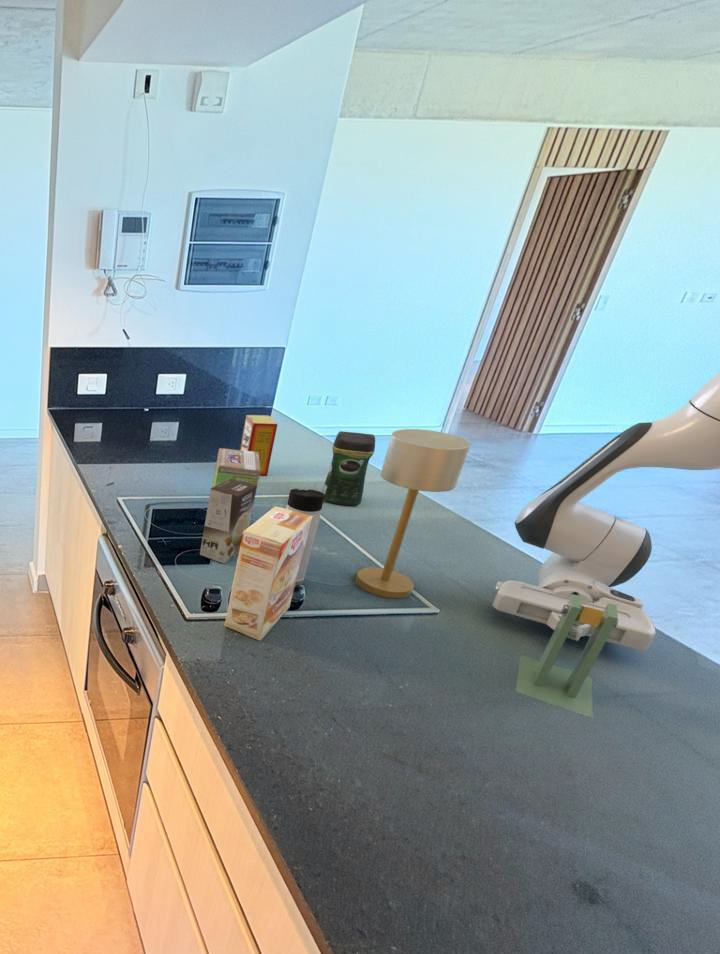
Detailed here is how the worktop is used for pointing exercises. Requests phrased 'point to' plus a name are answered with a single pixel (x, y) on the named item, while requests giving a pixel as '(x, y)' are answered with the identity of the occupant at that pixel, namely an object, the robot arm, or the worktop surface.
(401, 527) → the table lamp
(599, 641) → the green post frame stand
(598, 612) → the lever
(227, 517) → the coffee box
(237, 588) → the coffeecake box
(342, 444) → the coffee jar
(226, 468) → the tea box
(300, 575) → the travel mug
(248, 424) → the baking soda box
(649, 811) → the worktop surface
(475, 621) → the worktop surface
